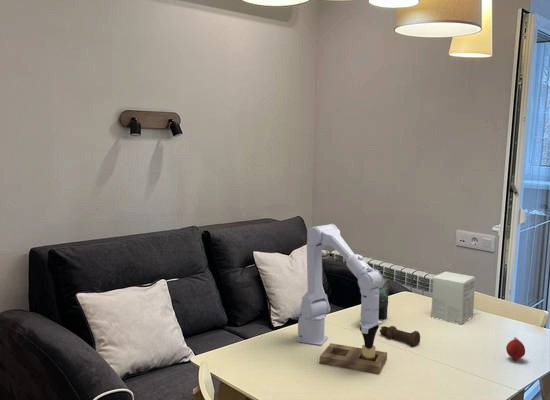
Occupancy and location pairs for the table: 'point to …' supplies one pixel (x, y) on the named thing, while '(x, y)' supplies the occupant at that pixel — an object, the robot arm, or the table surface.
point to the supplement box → (453, 297)
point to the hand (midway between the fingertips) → (368, 347)
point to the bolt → (401, 335)
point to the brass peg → (368, 353)
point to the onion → (515, 349)
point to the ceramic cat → (383, 299)
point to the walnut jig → (352, 358)
